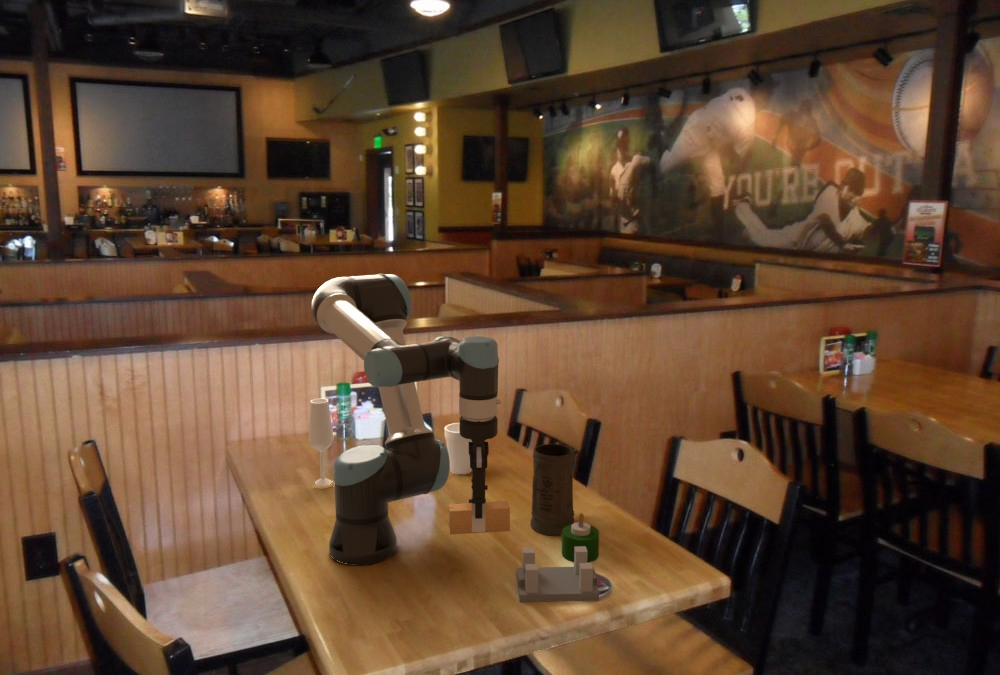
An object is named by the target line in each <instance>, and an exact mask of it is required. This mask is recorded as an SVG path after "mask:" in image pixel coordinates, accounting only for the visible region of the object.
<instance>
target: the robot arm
mask: <svg viewBox="0 0 1000 675" xmlns="http://www.w3.org/2000/svg"><path fill="white" fill-rule="evenodd" d="M310 309H311V314H312V317H313V319H314V321H315V323H316V324H317V325H318V327H320V328H321V329H322V330H323V331H324V332H326V333H327V334H332V335H333V334H334V335H335V336H336V337H337V338H338V339H339V340H340V341H342V342H343V344H345V345H346V346H347V347H348V348H350V350H351V351H353V352H354V354H356V355H357V356H358V357H359V358H360V359H361V360H362V361H363V368H364V369H363V371H364V375H365V377H366V378H367V382H368V384H369V385H371V386H372V387H374V388H378V391H379V396H380V400H381V403H382V409H383V413H384V417H385V422H386V425H387V429H388V434H389V435H388V436H387V439H386V440H385V442H384V446H382V445H379V444H369V445H368V444H362V445H358V446H353V447H350V448H348V449H347V450H344V451H343V452H341V453H340V454H339V455H338V457H336V459H335V461H334V465H333V476H332V481H334V486H333V487H334V503H335V522H334V525H333V529H332V531H331V536H330V539H329V542H328V548H329V549H328V551H329V552H330V553H329V556H330V555H331V556H332V557H333V558H334V559H335V560H338V561H340V562H343V563H347V564H346V565H348V564H358V565H357V566H366V565H365V564H368V565H372V563H373V564H376V563H381V562H383V561H385V560H388V558H391V557H392V556H393V555H394V554H395V553H396V551H397V548H398V544H397V543H398V540H397V535H396V533H395V529H394V528H393V524H392V522H391V519H390V517H389V503H392V502H395V501H399V500H404V499H408V498H412V497H417V496H421V495H428V494H430V493H432V492H436V491H439V490H441V489H442V488H443V487H444V486H445V485H446V483H447V482H448V479H449V476H450V460H449V453H448V450H447V445H445V443H444V441H443V440H439V439H435V438H436V437H435V435H434V431H432V429H430V428H428V427H427V426H426V425H425V420H424V416H423V412H422V407H421V404H420V399H419V394H418V391H417V386H416V383H418V382H425V381H426V382H427V381H431V380H438V379H439V380H440V379H444V378H453V379H455V380H457V381H459V385H458V386H459V393H458V399H459V400H458V404H459V405H458V414H459V415H460V417H459V423H460V435H461V436H462V437H463V438H466V439H471V441H472V442H469V455H470V468H471V469H472V472H471V481H470V482H471V490H472V491H471V498H469V499H468V503H472V532H485V502H487V499H486V491H487V490H489V488H488V487H489V486H488V484H487V485H486V469H487V468H488V455H489V453H490V452H489V451H490V450H489V441H488V440H492V439H493V438H495V437H496V436H497V435H498V433H499V432H498V431H499V430H498V429H499V428H498V417H497V415H498V405H500V404H501V403H502V401H501V399H499V398H498V396H499V395H498V392H499V391H498V390H499V363H500V362H499V361H500V357H499V350H498V349H499V348H498V347H499V346H498V345H499V344H498V343H497V341H496V340H495V339H493V338H492V337H488V336H487V337H485V336H468V337H464V338H462V339H461V340H460V339H458V338H456V337H455V338H454V337H453V336H445V335H441V336H438V337H436V338H434V339H433V340H431V341H429V342H422V343H413V344H406V340H405V337H404V329H405V328H406V326H407V324H408V323H407V322H408V321H407V319H409V317H410V316H411V313H412V297H411V293H410V291H409V289H408V286H407V284H406V283H405V281H404V280H403V279H402V278H401V277H400V276H398V275H397V274H391V273H390V274H389V273H388V274H386V273H385V274H384V273H377V274H366V275H356V276H355V275H352V276H340V277H339V276H338V277H335V278H331V279H330V280H327V281H325V282H324V283H323V284H322V285H321V286H320V287H319V288H317V290H316V291H315V293H314V295H313V298H312V299H311V307H310ZM486 440H487V441H486ZM331 556H330V557H331ZM332 557H331V558H332ZM333 558H332V559H333ZM334 559H333V560H334ZM335 560H334V561H335ZM340 562H339V563H340ZM343 563H342V564H343Z"/></svg>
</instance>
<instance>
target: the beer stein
mask: <svg viewBox="0 0 1000 675" xmlns="http://www.w3.org/2000/svg"><path fill="white" fill-rule="evenodd" d="M575 456H576V455H575V451H574V448H572V447H571V446H568V445H566V444H559V443H546V444H545V443H544V444H540V445H538V446H535V448H534V449H533V452H532V460H533V474H532V475H533V476H532V486H531V489H532V493H531V494H532V497H531V498H532V499H531V501H532V502H531V519H530V527H531V528H532V530H534V531H535V532H537V533H539V534H543V535H546V534H548V536H560V535H561V536H562V529H563V528H564V527H566V526H568V525H571V524H573V523H575V519H574V517H575V511H574V500H573V498H574V497H573V496H574V495H573V493H574V492H573V491H574V490H573V486H574V485H573V484H574V483H573V482H574V481H573V477H574V470H573V469H574V461H575V458H576V457H575Z"/></svg>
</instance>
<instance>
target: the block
mask: <svg viewBox="0 0 1000 675" xmlns="http://www.w3.org/2000/svg"><path fill="white" fill-rule="evenodd" d="M448 517H449V518H448V520H449V522H448V523H449V524H448V526H449V533H450V535H466V534H468V535H469V534H484V533H500V532H502V533H503V532H504V533H505V532H511V531H510V530H511V529H510V528H511V526H510V525H511V519H510V518H511V507H510V504H509V501H508V500H502V501H501V500H500V501H499V500H498V501H486V502H485V532H472V503H469V502H461V503H457V502H456V503H449V504H448Z"/></svg>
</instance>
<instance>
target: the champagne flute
mask: <svg viewBox="0 0 1000 675" xmlns="http://www.w3.org/2000/svg"><path fill="white" fill-rule="evenodd" d="M334 439H335V438H334V431H333V424H332V417H331V410H330V403H329V399H328V398H321V397H320V398H314V399H310V403H309V423H308V443H309V445H310V446H311V447H312V448H313V449H314V450H316V451H317V452H319V466H320V468H319V469H320V471H319V472H320V478H318V479H317V480H316V481H314V482H315V484H316V485H319V486H321V485H322V486H326V485H330V484H331V483H332V482H333V481H334V480H332V481H331V479H329V478H327V477H326V470H325V469H326V467H325V464H326V463H325V451H327V450H328V449H329V447H331V445H332V444H333V443H334V441H335V440H334Z"/></svg>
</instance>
